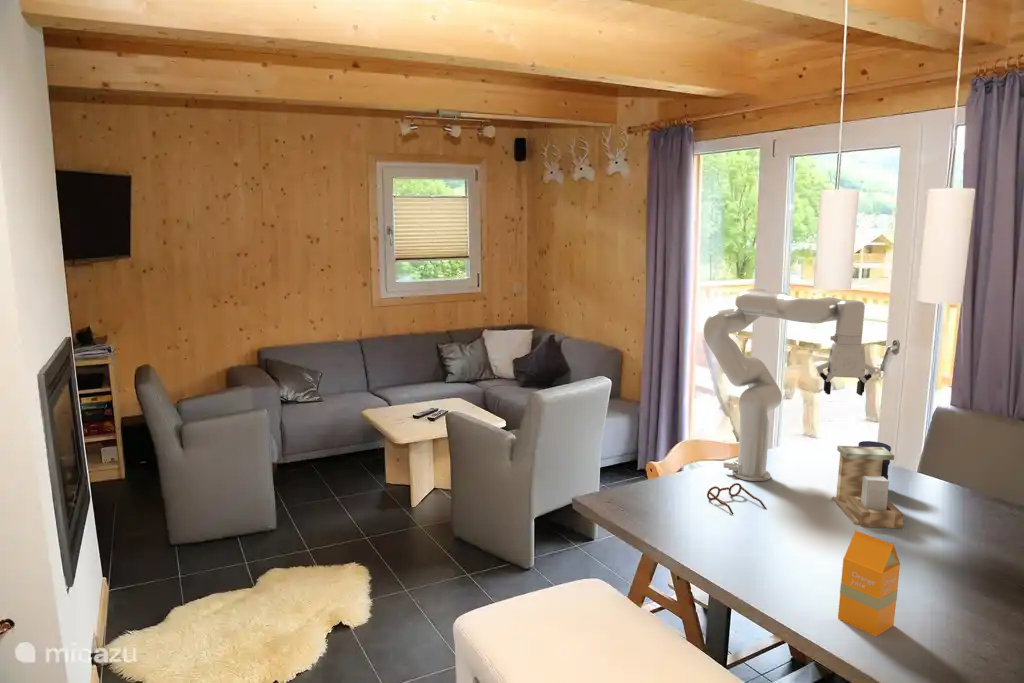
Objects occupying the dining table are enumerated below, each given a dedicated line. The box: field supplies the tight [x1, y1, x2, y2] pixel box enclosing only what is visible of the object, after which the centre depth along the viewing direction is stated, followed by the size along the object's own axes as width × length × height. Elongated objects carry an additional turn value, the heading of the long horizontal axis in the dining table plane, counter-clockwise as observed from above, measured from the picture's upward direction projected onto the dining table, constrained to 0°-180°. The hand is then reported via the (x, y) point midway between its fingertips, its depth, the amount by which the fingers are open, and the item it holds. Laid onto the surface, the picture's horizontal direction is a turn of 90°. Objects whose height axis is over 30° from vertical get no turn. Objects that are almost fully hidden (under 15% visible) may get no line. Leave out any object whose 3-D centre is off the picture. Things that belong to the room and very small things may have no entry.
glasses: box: [706, 482, 768, 515], centre depth 227 cm, size 13×13×5 cm
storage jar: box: [857, 440, 892, 481], centre depth 241 cm, size 10×10×15 cm
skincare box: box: [861, 476, 890, 510], centre depth 216 cm, size 6×4×12 cm
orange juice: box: [837, 530, 901, 637], centre depth 160 cm, size 8×9×20 cm
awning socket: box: [831, 445, 905, 529], centre depth 220 cm, size 14×21×18 cm
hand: (843, 394), depth 228 cm, fingers open, 9 cm apart
